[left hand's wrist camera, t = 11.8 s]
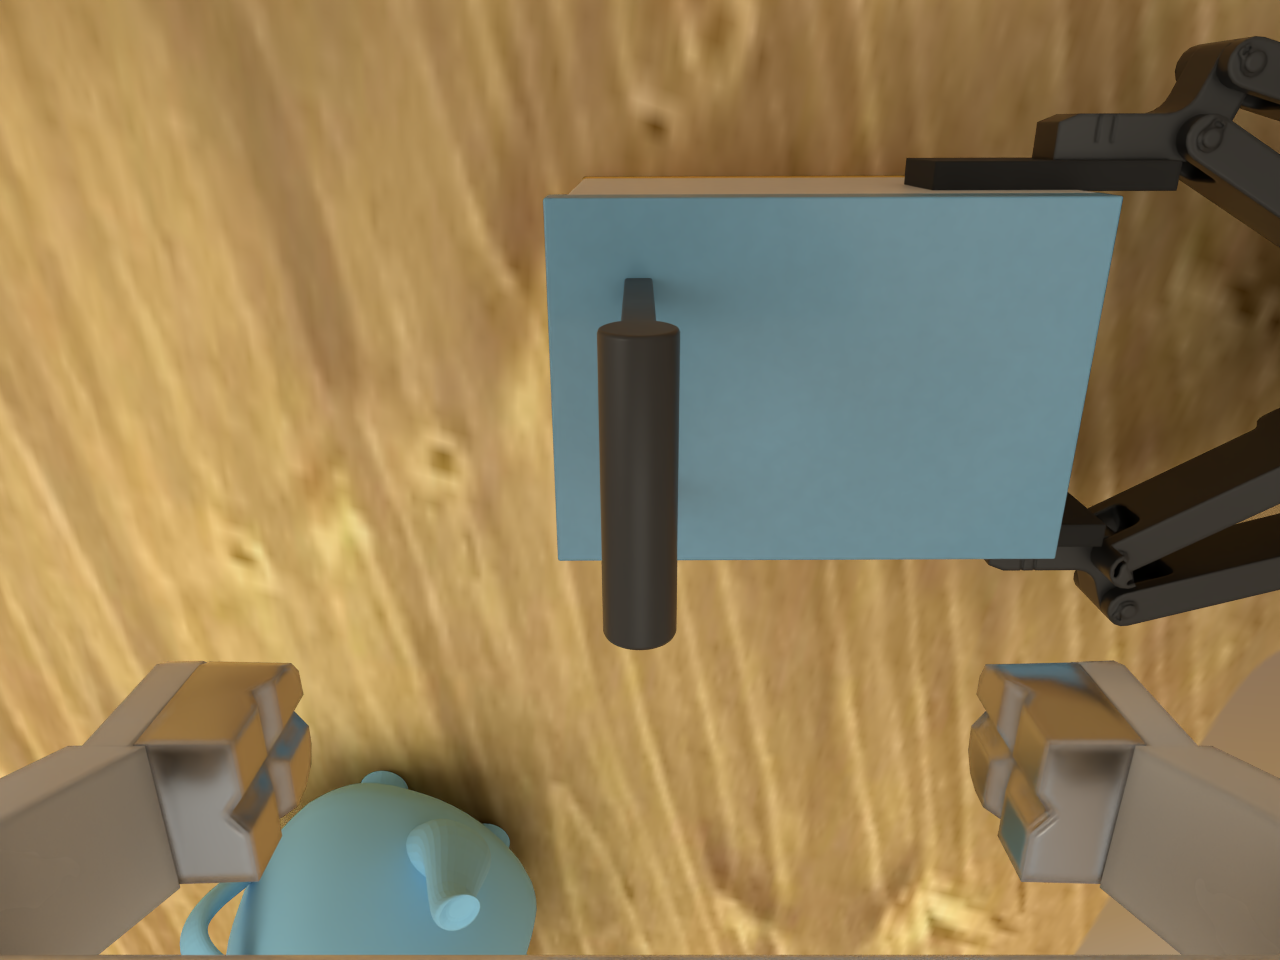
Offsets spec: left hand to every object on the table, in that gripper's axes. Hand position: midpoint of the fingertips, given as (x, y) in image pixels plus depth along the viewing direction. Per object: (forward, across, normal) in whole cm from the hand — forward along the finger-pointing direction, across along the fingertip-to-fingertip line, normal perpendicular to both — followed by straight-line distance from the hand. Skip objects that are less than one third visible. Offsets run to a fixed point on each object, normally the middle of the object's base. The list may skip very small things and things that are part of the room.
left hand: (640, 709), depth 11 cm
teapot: (+24, -10, -24) cm, 35 cm away
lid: (+15, +5, 0) cm, 16 cm away
